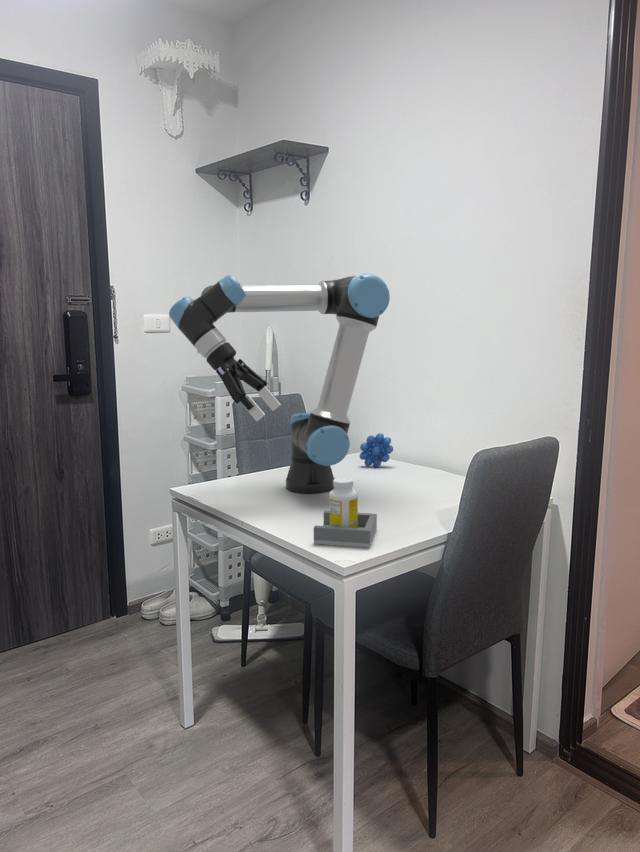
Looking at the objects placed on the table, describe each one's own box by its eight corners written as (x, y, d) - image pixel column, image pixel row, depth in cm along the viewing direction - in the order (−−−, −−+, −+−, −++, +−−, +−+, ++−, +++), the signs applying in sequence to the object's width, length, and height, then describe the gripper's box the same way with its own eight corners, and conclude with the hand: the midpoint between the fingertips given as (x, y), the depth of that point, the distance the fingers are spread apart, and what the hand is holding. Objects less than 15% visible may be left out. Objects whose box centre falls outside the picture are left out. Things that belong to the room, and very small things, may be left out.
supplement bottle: (356, 527, 156) (356, 476, 154) (358, 536, 150) (358, 483, 148) (329, 528, 156) (328, 476, 154) (330, 537, 150) (329, 483, 148)
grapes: (393, 464, 227) (393, 431, 225) (393, 469, 220) (393, 434, 218) (360, 464, 228) (360, 430, 226) (359, 468, 222) (359, 434, 220)
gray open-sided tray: (313, 544, 148) (313, 527, 148) (324, 526, 161) (324, 510, 160) (369, 547, 146) (369, 530, 145) (376, 529, 158) (376, 513, 158)
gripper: (224, 354, 180) (273, 412, 180) (186, 365, 156) (243, 432, 157) (242, 336, 178) (292, 395, 178) (207, 345, 154) (264, 413, 154)
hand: (269, 413), depth 167 cm, fingers open, 13 cm apart
